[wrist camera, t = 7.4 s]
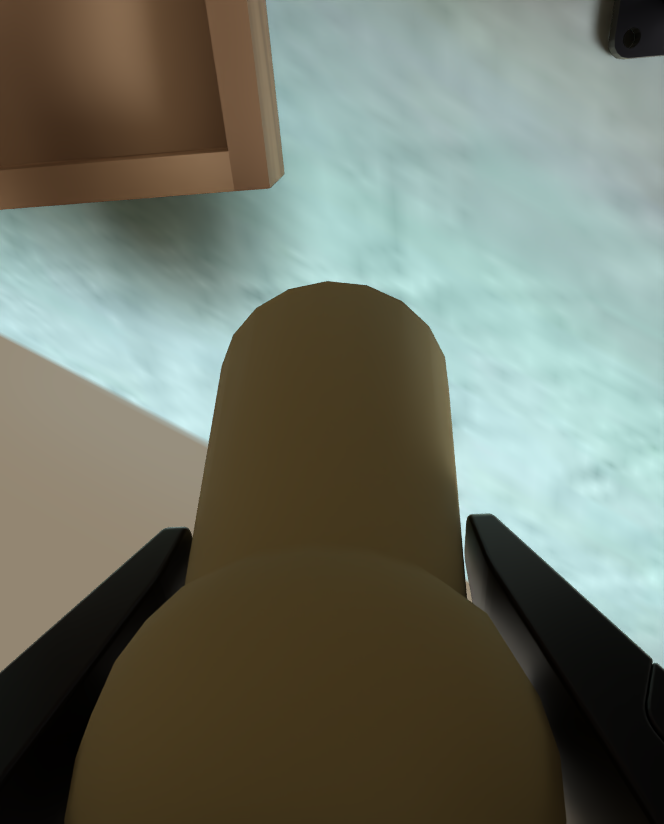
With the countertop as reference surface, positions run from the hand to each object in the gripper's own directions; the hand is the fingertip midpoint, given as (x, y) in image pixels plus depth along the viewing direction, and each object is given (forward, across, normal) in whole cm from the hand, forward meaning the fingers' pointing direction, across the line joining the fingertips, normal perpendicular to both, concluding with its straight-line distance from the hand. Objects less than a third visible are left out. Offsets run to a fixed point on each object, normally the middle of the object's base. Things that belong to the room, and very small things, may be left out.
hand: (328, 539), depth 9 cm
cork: (+6, 0, 0) cm, 6 cm away
